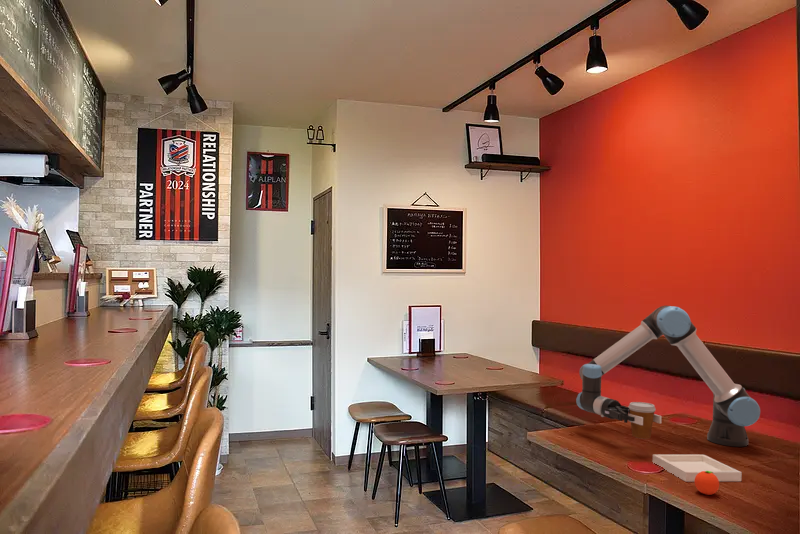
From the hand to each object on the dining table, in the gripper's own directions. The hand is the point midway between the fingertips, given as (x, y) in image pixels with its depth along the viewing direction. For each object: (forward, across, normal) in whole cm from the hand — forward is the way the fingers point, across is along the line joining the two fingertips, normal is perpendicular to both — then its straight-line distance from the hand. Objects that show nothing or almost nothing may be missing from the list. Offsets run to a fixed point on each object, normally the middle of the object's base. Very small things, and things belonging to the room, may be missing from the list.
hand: (651, 420), depth 228 cm
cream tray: (+15, -5, -14) cm, 22 cm away
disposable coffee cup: (-5, 0, -7) cm, 9 cm away
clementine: (+33, +10, -15) cm, 37 cm away
